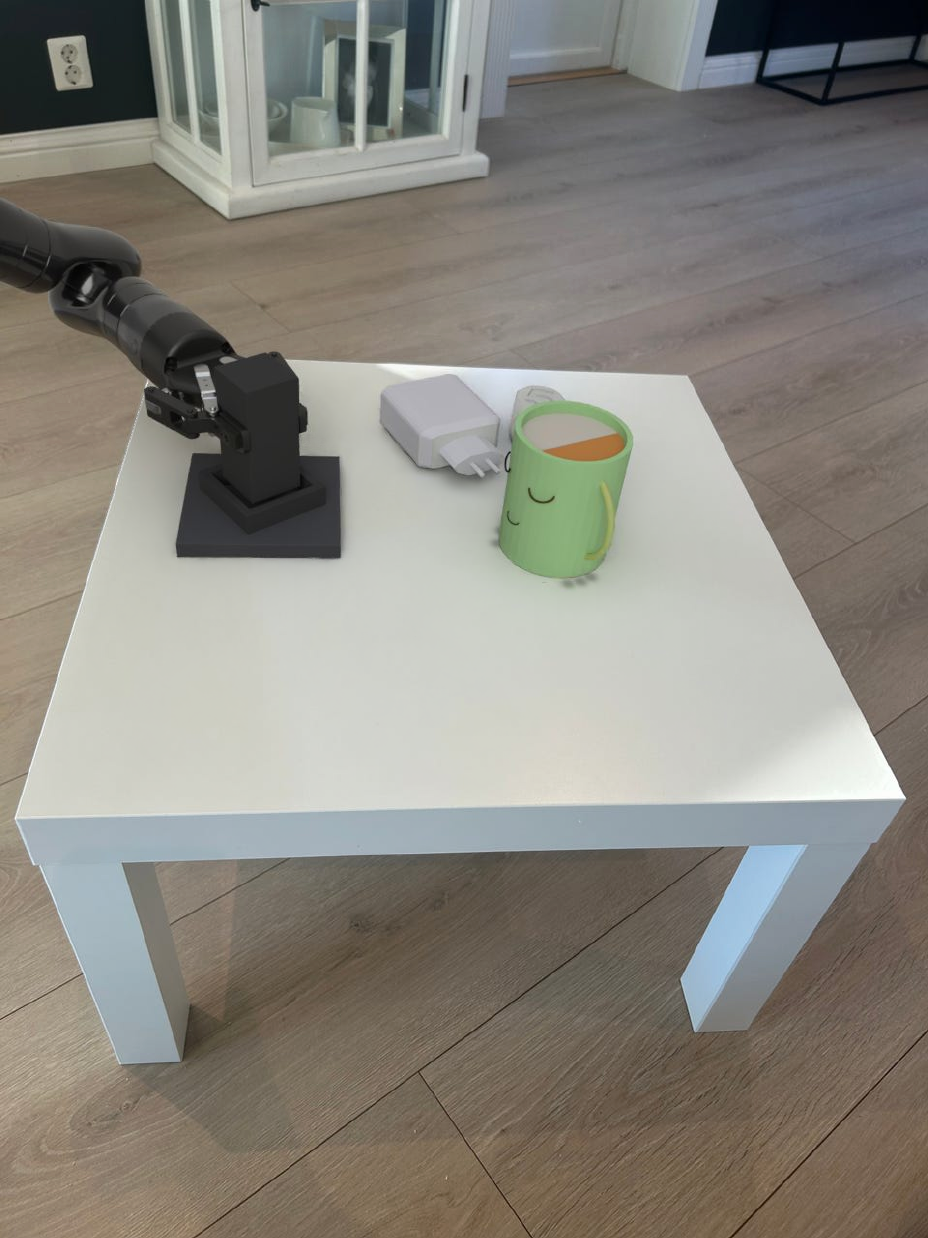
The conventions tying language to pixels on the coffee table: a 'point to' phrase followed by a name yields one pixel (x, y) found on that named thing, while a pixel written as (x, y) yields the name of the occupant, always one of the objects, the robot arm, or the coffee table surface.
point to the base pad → (261, 514)
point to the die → (531, 401)
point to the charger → (442, 424)
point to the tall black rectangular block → (261, 425)
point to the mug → (563, 487)
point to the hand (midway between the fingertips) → (274, 432)
